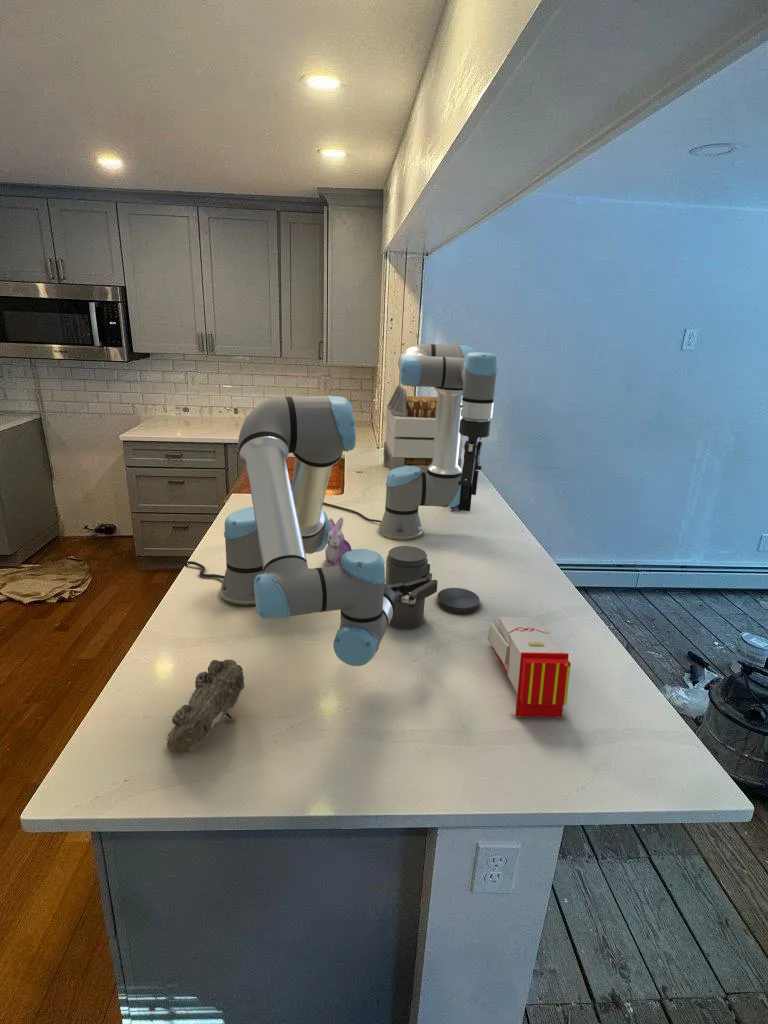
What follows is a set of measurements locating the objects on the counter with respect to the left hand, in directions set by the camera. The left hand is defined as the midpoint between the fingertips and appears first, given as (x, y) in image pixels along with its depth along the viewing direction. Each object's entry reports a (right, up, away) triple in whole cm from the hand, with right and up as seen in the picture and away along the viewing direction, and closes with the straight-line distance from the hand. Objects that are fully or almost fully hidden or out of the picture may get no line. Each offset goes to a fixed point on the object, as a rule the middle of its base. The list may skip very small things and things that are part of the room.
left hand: (399, 564), depth 131 cm
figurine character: (+25, +14, +100) cm, 104 cm away
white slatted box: (+14, +31, +144) cm, 148 cm away
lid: (+17, -11, +23) cm, 31 cm away
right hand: (+18, +15, +14) cm, 27 cm away
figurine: (-18, -4, +43) cm, 47 cm away
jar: (+1, -15, +15) cm, 21 cm away
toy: (+27, -24, -6) cm, 36 cm away
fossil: (-36, -27, -22) cm, 50 cm away
